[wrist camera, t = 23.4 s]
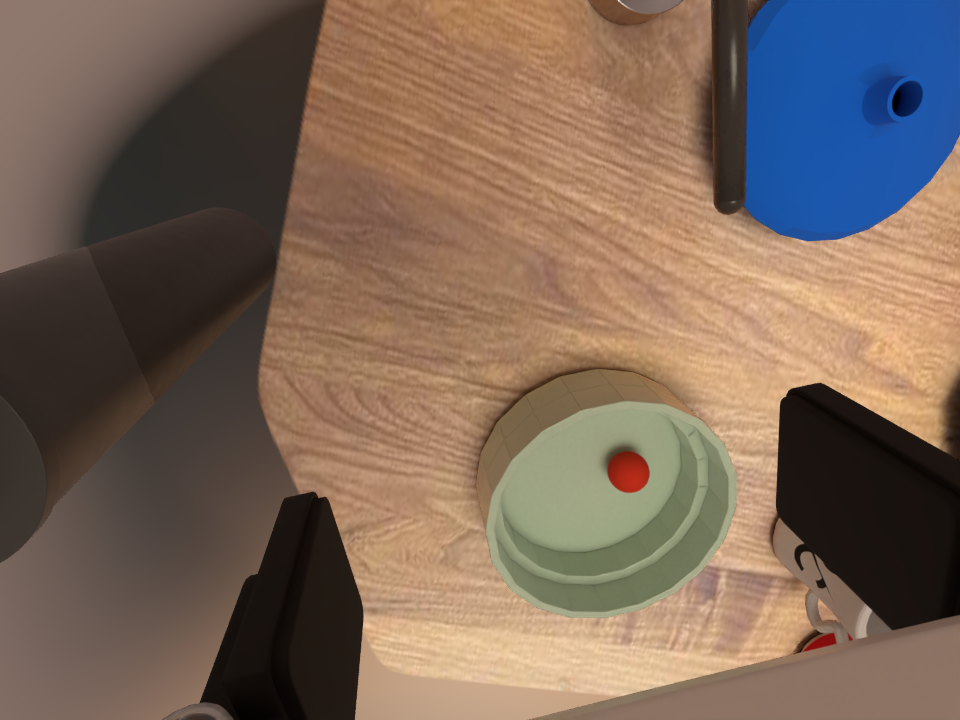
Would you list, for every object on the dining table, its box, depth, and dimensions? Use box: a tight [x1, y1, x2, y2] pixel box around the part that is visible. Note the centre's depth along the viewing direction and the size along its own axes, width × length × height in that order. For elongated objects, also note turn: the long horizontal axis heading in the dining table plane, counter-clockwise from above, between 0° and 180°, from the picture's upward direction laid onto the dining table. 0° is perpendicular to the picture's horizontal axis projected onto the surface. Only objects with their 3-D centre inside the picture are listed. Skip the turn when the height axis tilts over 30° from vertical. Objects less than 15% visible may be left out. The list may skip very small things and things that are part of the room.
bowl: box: [476, 369, 737, 618], centre depth 40 cm, size 17×17×6 cm
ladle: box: [589, 0, 748, 215], centre depth 28 cm, size 16×6×11 cm, turn 10°
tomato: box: [607, 451, 650, 493], centre depth 41 cm, size 3×3×3 cm
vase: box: [744, 0, 960, 241], centre depth 32 cm, size 16×16×7 cm
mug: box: [773, 518, 892, 644], centre depth 44 cm, size 12×9×10 cm
